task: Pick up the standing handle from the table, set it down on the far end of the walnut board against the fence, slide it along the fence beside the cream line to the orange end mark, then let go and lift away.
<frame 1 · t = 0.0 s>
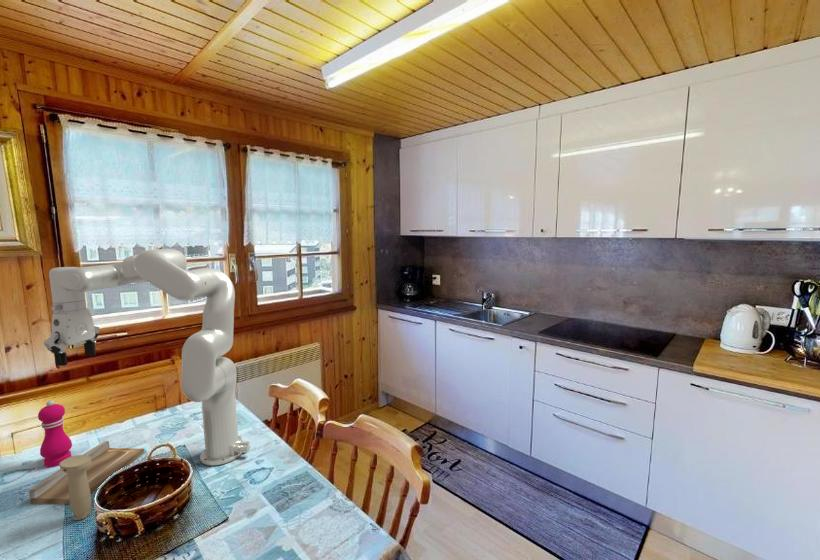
hand: (76, 359, 116), 31 cm above the table, tool pointing down, fingers open, 9 cm apart
handle: (82, 517, 92), on the table
board: (93, 475, 108), on the table
pepper mill: (58, 461, 115), on the table
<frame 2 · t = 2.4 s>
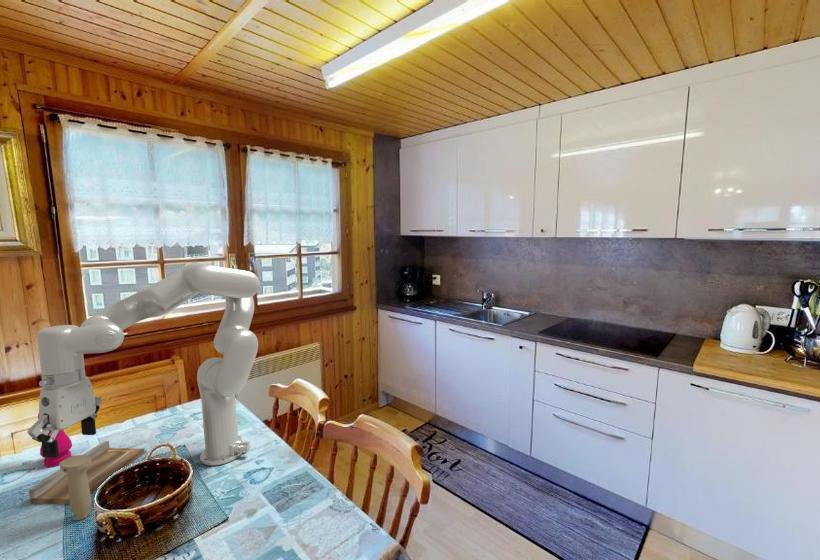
hand: (71, 445, 90), 19 cm above the table, tool pointing down, fingers open, 9 cm apart
nothing on the table moved.
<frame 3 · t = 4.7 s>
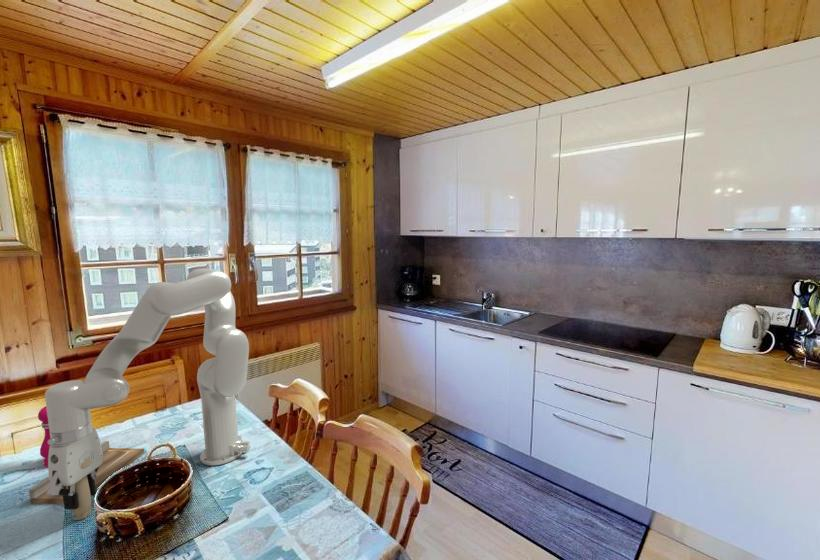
hand: (80, 500, 92), 4 cm above the table, tool pointing down, fingers closed on handle, 3 cm apart
handle: (82, 517, 92), on the table, touching gripper
everything else where it was.
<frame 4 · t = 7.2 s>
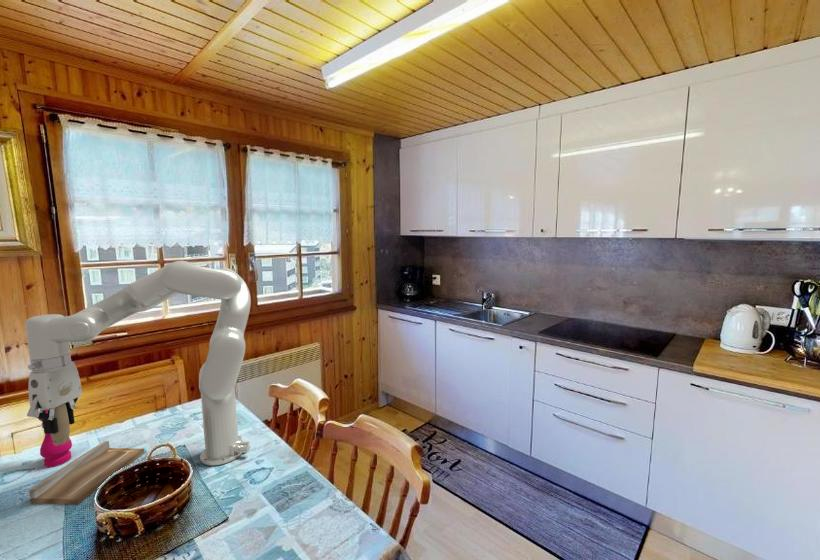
hand: (59, 427, 98), 19 cm above the table, tool pointing down, fingers closed on handle, 3 cm apart
handle: (61, 443, 98), point 15 cm above the table, touching gripper
everything else where it was.
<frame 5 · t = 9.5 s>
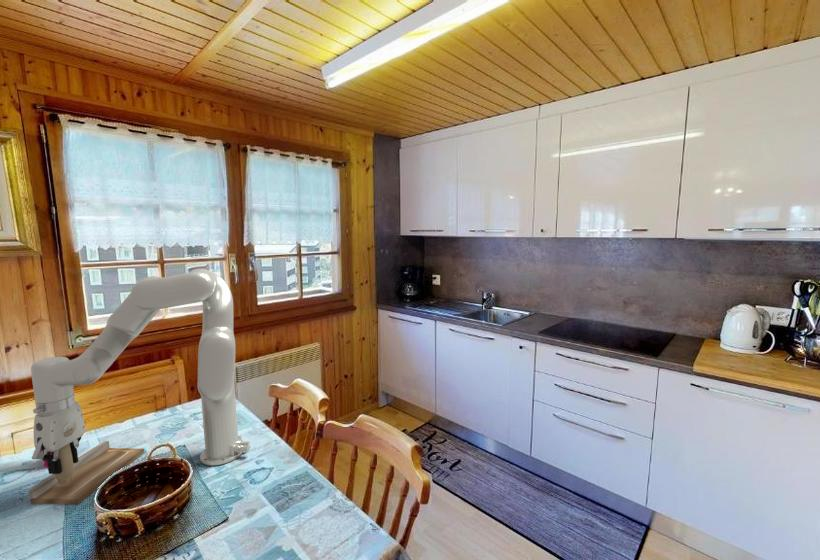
hand: (63, 467, 100), 7 cm above the table, tool pointing down, fingers closed on handle, 3 cm apart
handle: (65, 482, 101), point 3 cm above the table, touching gripper
everything else where it was.
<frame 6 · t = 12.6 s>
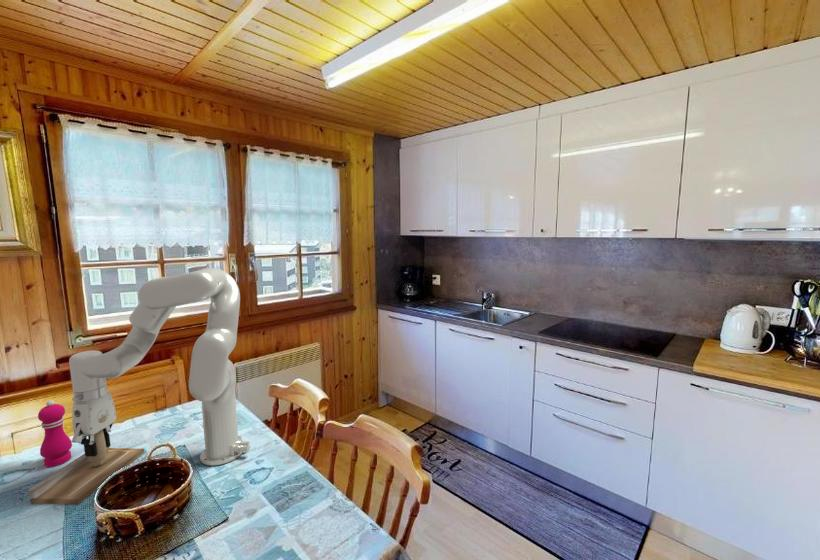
hand: (98, 450, 111), 6 cm above the table, tool pointing down, fingers closed on handle, 3 cm apart
handle: (99, 464, 111), point 1 cm above the table, touching gripper
everything else where it was.
when the fingers open (6 cm above the table, at t = 14.6 s): handle stays where it is, resting on board.
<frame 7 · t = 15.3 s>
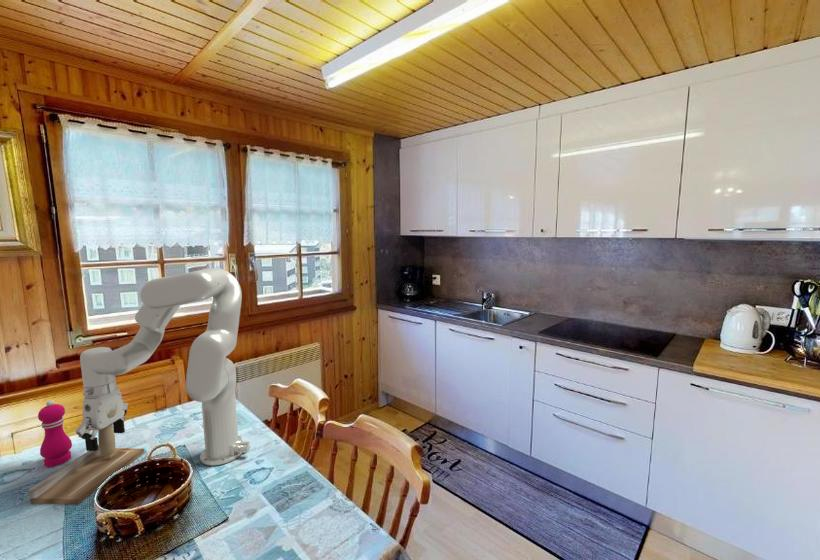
hand: (106, 441, 114), 7 cm above the table, tool pointing down, fingers open, 9 cm apart
handle: (108, 458, 114), point 1 cm above the table, touching board
everything else where it was.
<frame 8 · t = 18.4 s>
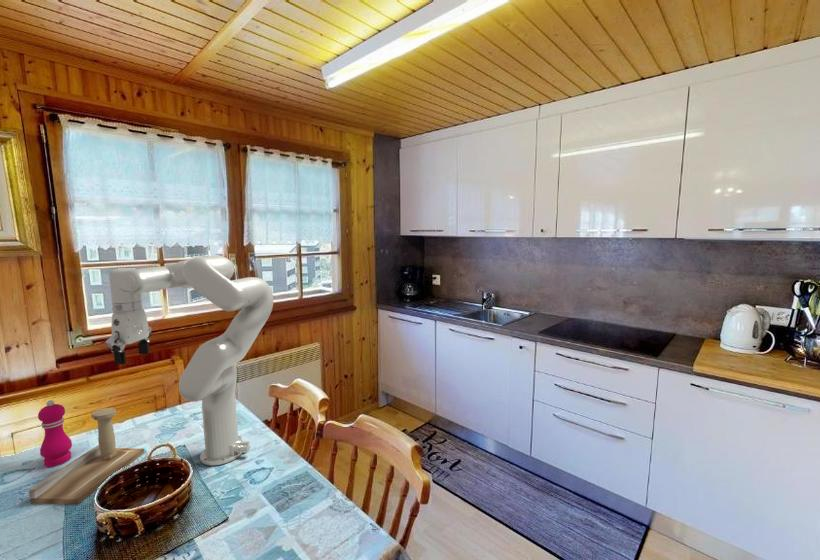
hand: (132, 358, 120), 30 cm above the table, tool pointing down, fingers open, 9 cm apart
nothing on the table moved.
at the end: handle 0.1 cm from the target spot, point 1.3 cm above the table; handle tilted 0°; the gripper is holding nothing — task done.
